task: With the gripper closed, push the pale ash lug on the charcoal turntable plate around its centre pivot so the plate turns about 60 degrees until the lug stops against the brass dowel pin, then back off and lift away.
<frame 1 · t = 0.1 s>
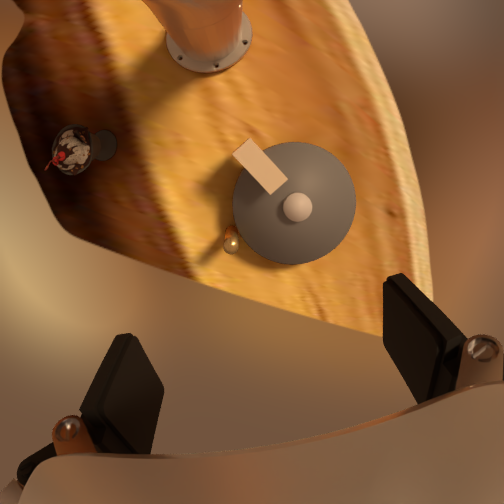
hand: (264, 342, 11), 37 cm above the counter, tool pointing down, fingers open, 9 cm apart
pivot base: (292, 200, 46), on the counter
sundae: (103, 145, 41), on the counter
turntable: (297, 201, 41), point 5 cm above the counter, hinge at 0.0°
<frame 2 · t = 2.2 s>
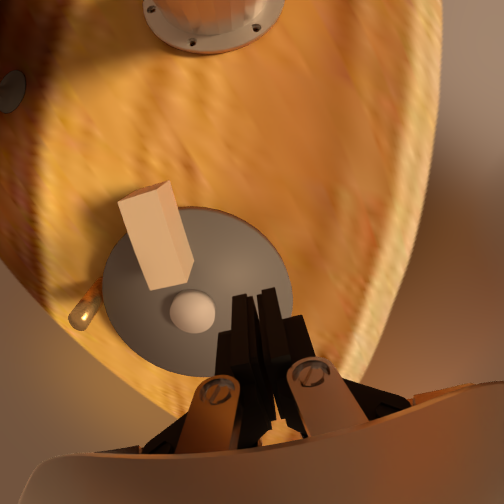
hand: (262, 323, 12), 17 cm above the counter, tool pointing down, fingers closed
pivot base: (197, 289, 30), on the counter
sundae: (11, 92, 21), on the counter
turntable: (193, 307, 26), point 5 cm above the counter, hinge at 0.0°
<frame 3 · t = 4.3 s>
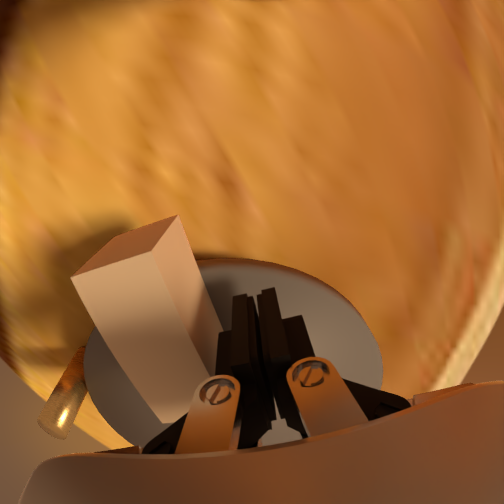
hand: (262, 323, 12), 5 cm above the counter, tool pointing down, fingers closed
pivot base: (232, 371, 19), on the counter
turntable: (235, 419, 14), point 5 cm above the counter, hinge at 4.2°, touching gripper
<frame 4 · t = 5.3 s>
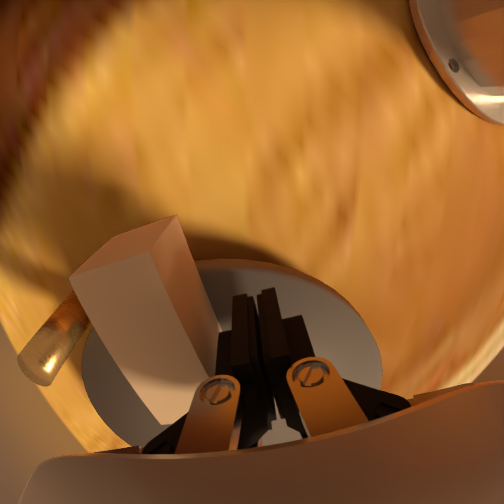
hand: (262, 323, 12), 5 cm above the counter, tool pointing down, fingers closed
pivot base: (231, 372, 19), on the counter
turntable: (234, 420, 14), point 5 cm above the counter, hinge at 34.3°, touching gripper
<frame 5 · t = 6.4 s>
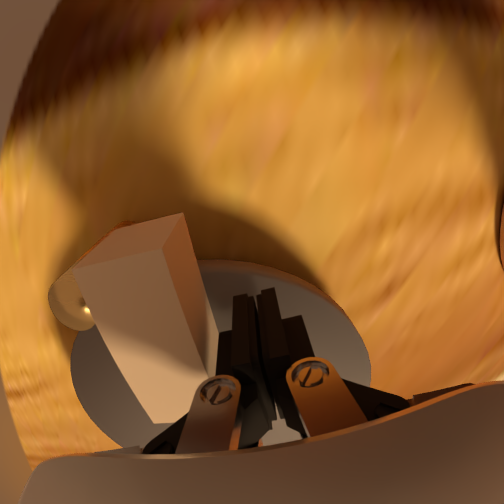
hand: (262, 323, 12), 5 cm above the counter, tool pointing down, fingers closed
pivot base: (219, 373, 19), on the counter
turntable: (223, 421, 14), point 5 cm above the counter, hinge at 61.1°, touching gripper, pivot base
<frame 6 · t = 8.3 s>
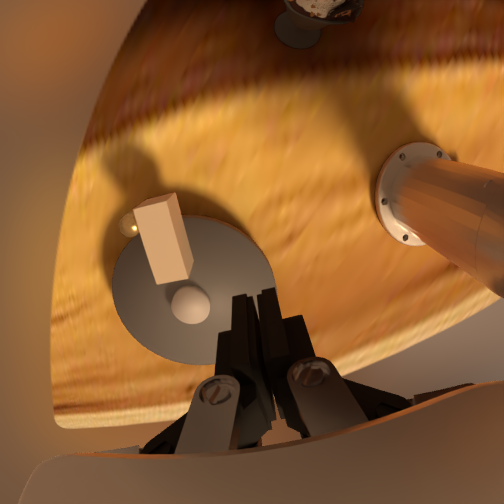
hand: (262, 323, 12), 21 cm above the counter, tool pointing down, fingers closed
pivot base: (195, 286, 35), on the counter
sundae: (296, 29, 25), on the counter
turntable: (192, 301, 30), point 5 cm above the counter, hinge at 61.1°
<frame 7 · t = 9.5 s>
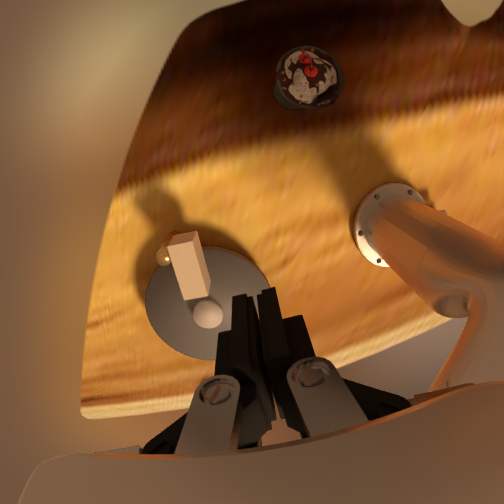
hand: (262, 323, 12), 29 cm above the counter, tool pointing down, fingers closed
pivot base: (210, 298, 44), on the counter
sundae: (292, 91, 34), on the counter
turntable: (209, 311, 40), point 5 cm above the counter, hinge at 61.1°
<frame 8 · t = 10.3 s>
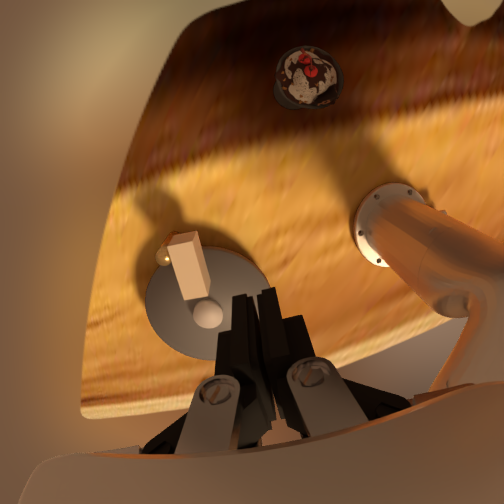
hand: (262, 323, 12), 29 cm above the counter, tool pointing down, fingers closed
pivot base: (210, 298, 44), on the counter
sundae: (292, 91, 34), on the counter
turntable: (209, 311, 40), point 5 cm above the counter, hinge at 61.1°
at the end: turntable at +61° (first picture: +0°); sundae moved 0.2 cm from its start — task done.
